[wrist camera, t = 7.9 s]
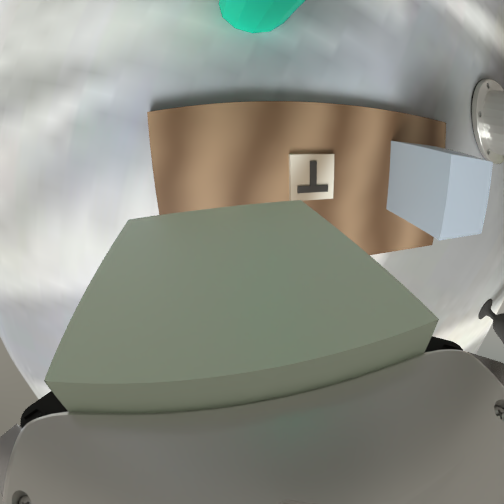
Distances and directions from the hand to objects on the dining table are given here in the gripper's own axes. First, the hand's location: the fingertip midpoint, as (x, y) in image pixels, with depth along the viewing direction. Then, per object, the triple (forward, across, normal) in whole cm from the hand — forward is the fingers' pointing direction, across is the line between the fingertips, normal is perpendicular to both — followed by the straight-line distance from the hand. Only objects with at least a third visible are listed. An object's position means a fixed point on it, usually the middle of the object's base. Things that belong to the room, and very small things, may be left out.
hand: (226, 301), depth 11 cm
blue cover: (+13, -21, -2) cm, 25 cm away
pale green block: (+1, 0, 0) cm, 1 cm away
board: (+14, -11, -1) cm, 18 cm away
